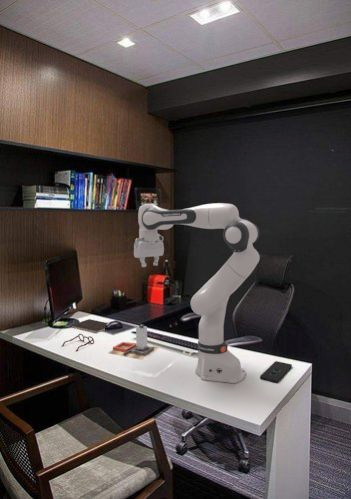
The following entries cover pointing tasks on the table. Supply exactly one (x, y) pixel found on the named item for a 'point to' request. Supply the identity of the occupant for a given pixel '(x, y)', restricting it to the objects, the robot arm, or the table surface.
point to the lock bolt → (141, 338)
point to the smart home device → (276, 372)
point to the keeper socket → (124, 348)
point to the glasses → (81, 340)
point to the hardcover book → (90, 326)
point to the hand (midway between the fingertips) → (150, 266)
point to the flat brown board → (135, 352)
